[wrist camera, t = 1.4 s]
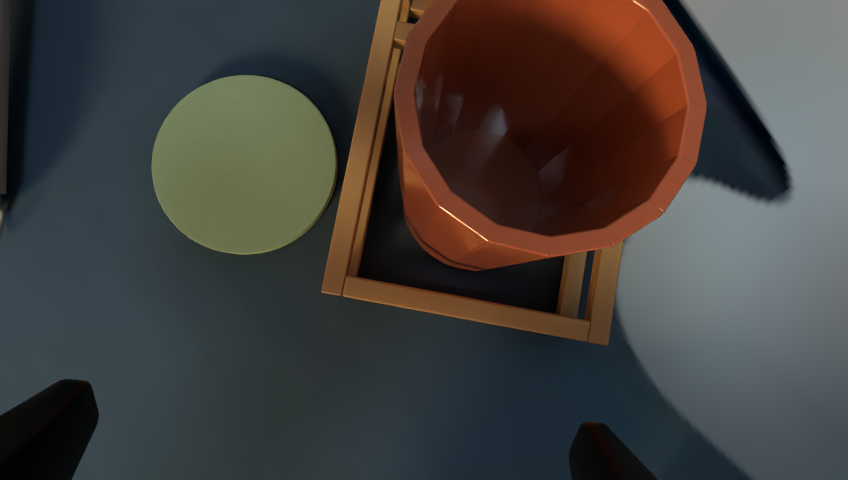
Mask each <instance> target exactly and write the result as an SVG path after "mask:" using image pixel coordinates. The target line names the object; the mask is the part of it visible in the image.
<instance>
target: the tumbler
mask: <svg viewBox="0 0 848 480" xmlns="http://www.w3.org/2000/svg"><path fill="white" fill-rule="evenodd" d="M706 105H707V102H706V98H705V93H704V89H703V84H702V80H701V75H700V71H699V66H698V62H697V57H696V53H695V49H693V45H692V43H691V42H690V40H689V39H688V37H687V36H686V35H685V33H684V32H683V30H682V29H681V27H680V26H679V24H678V23H677V21H676V20H675V18H674V17H673V15H672V14H671V12H670V11H669V10H668V8H667V7H666V5H665V4H664V2H663V1H662V0H433V2H432V3H431V4H430V5H429V7H428V8H427V9H426V11H425V12H424V13H423V15H422V16H421V17H420V19H419V20H418V21H417V23H416V24H415V25H414V27H413V28H412V29H411V30H410V32H409V35H408V36H407V38H406V42H405V46H404V50H403V55H402V59H401V63H400V67H399V71H398V75H397V79H396V83H395V87H394V108H395V122H396V136H397V151H398V165H399V179H400V193H401V199H402V206H403V212H404V218H405V221H406V223H407V225H408V227H409V229H410V231H411V233H412V235H413V237H414V238H415V239H416V241H417V242H418V243H419V245H420V246H421V247H422V248H423V249H424V250H425V251H426V252H428V253H429V254H430V255H431V256H432V257H434V258H436V259H437V260H439V261H440V262H443V263H444V264H447V265H449V266H452V267H456V268H459V269H465V270H472V271H480V270H486V269H492V268H498V267H504V266H510V265H515V264H521V263H526V262H532V261H538V260H543V259H549V258H554V257H560V256H566V255H571V254H577V253H582V252H588V251H593V250H599V249H605V248H610V247H611V246H615V245H616V244H618V243H619V242H621V241H622V240H624V239H626V238H627V237H629V236H630V235H632V234H633V233H635V232H636V231H638V230H640V229H641V228H643V227H644V226H646V225H647V224H649V223H650V222H652V221H653V220H655V219H657V218H658V217H660V216H661V215H662V213H664V212H665V211H666V209H667V208H668V206H669V205H670V203H671V202H672V200H673V199H674V197H675V196H676V194H677V193H678V191H679V190H680V188H681V187H682V185H683V184H684V182H685V181H686V179H687V178H688V176H689V175H690V173H691V172H692V170H693V169H694V167H695V165H696V163H697V159H698V154H699V148H700V143H701V137H702V132H703V126H704V121H705V115H706V109H707V106H706Z"/></svg>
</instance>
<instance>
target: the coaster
mask: <svg viewBox="0 0 848 480" xmlns="http://www.w3.org/2000/svg"><path fill="white" fill-rule="evenodd" d="M337 171H338V159H337V150H336V146H335V141H334V138H333V136H332V133H331V130H330V128H329V126H328V124H327V123H326V121H325V119H324V117H323V116H322V114H321V113H320V111H319V110H318V109H317V107H316V106H315V105H314V104H313V103H312V102H311V101H310V100H309V99H308V98H307V97H306V96H304V95H303V94H302V93H301V92H299V91H298V90H296V89H295V88H293V87H291V86H290V85H287V84H285V83H283V82H281V81H278V80H275V79H272V78H268V77H263V76H257V75H236V76H229V77H224V78H220V79H217V80H214V81H211V82H209V83H207V84H205V85H202V86H200V87H198V88H197V89H195V90H194V91H192V92H191V93H189V94H188V95H187V96H186V97H184V98H183V99H182V100H181V101H180V102H179V103H178V104H177V105H176V106H175V107H174V108H173V109H172V110H171V112H170V113H169V115H168V116H167V118H166V119H165V121H164V122H163V124H162V126H161V128H160V130H159V133H158V135H157V138H156V141H155V145H154V149H153V155H152V178H153V183H154V188H155V191H156V194H157V197H158V200H159V202H160V204H161V206H162V208H163V210H164V212H165V213H166V214H167V216H168V217H169V219H170V220H171V221H172V222H173V224H174V225H175V226H176V227H177V228H178V229H179V230H180V231H182V232H183V233H184V234H185V235H186V236H188V237H189V238H191V239H192V240H194V241H195V242H197V243H199V244H201V245H203V246H206V247H208V248H211V249H214V250H217V251H221V252H226V253H232V254H247V255H249V254H259V253H264V252H269V251H273V250H275V249H278V248H281V247H284V246H285V245H287V244H289V243H291V242H293V241H295V240H296V239H298V238H299V237H301V236H302V235H303V234H305V233H306V232H307V231H308V230H309V229H310V228H311V227H312V226H313V225H314V224H315V223H316V222H317V221H318V219H319V218H320V217H321V215H322V214H323V212H324V211H325V209H326V208H327V206H328V204H329V202H330V199H331V197H332V194H333V191H334V188H335V185H336V179H337Z"/></svg>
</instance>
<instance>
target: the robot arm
mask: <svg viewBox="0 0 848 480" xmlns="http://www.w3.org/2000/svg"><path fill="white" fill-rule="evenodd" d="M98 418H99V412H98V408H97V404H96V401H95V397H94V393H93V390H92V386H91V384H90V383H89V382H88V381H84V380H72V379H64V380H61V381H58V382H56V383H55V384H53V385H51V386H50V387H48V388H46V389H45V390H43V391H41V392H39V393H38V394H36V395H34V396H33V397H31V398H29V399H28V400H26V401H24V402H23V403H21V404H19V405H18V406H16V407H14V408H12V409H11V410H9V411H7V412H6V413H4V414H2V415H1V416H0V480H72V477H73V475H74V473H75V471H76V469H77V467H78V464H79V462H80V460H81V458H82V456H83V454H84V452H85V449H86V447H87V445H88V443H89V441H90V439H91V437H92V434H93V432H94V430H95V428H96V426H97V422H98ZM569 462H570V469H571V476H572V480H658V479H657V478H656V477H655V476H654V475H653V474H652V473H651V472H650V471H649V470H648V469H647V468H646V467H645V466H644V465H643V464H642V463H641V461H640V460H639V459H638V458H637V457H636V456H635V455H634V454H633V453H632V452H631V451H630V450H629V449H628V448H627V447H626V446H625V445H624V443H623V442H622V441H621V440H620V439H619V438H618V437H617V436H616V435H615V434H614V433H613V432H612V431H611V430H610V429H609V428H608V427H607V426H606V425H604V424H602V423H593V422H584V423H582V424H581V426H580V427H579V430H578V432H577V434H576V437H575V439H574V441H573V444H572V446H571V448H570V453H569Z"/></svg>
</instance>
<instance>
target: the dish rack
mask: <svg viewBox="0 0 848 480" xmlns="http://www.w3.org/2000/svg"><path fill="white" fill-rule="evenodd" d="M432 2H433V0H381V2H380V7H379V12H378V17H377V22H376V26H375V31H374V36H373V41H372V46H371V51H370V56H369V60H368V65H367V70H366V75H365V80H364V85H363V90H362V94H361V99H360V104H359V109H358V114H357V119H356V124H355V128H354V133H353V138H352V143H351V148H350V153H349V158H348V162H347V167H346V172H345V177H344V182H343V187H342V192H341V197H340V201H339V206H338V211H337V216H336V221H335V226H334V231H333V235H332V240H331V245H330V250H329V255H328V260H327V265H326V269H325V274H324V279H323V284H322V289H321V292H323V293H327V294H332V295H338V296H342V295H343V296H344V297H348V298H354V299H359V300H365V301H370V302H375V303H381V304H386V305H391V306H397V307H402V308H407V309H413V310H418V311H424V312H429V313H434V314H440V315H445V316H450V317H456V318H461V319H467V320H472V321H477V322H483V323H488V324H493V325H499V326H504V327H509V328H515V329H520V330H526V331H531V332H536V333H542V334H547V335H552V336H558V337H563V338H568V339H574V340H579V341H587V342H590V343H595V344H601V345H608V343H609V336H610V329H611V322H612V316H613V309H614V302H615V295H616V288H617V282H618V275H619V268H620V261H621V255H622V248H623V241H624V240H622V241H621V242H619V243H618V244H616V245H615V246H611V247H610V248H605V249H599V250H595V253H594V260H593V266H592V273H591V279H590V286H589V292H588V299H587V306H586V312H585V319H580V318H577V315H578V308H579V302H580V295H581V289H582V282H583V276H584V269H585V263H586V256H587V252H582V253H577V254H571V255H566V256H565V259H564V265H563V271H562V277H561V284H560V290H559V296H558V303H557V309H556V314H553V313H548V312H543V311H537V310H532V309H527V308H521V307H516V306H511V305H505V304H500V303H495V302H489V301H484V300H479V299H473V298H468V297H463V296H457V295H452V294H447V293H441V292H436V291H431V290H425V289H420V288H415V287H409V286H404V285H399V284H393V283H388V282H382V281H377V280H372V279H366V278H361V277H358V273H359V268H360V263H361V258H362V253H363V248H364V243H365V238H366V233H367V228H368V223H369V218H370V213H371V208H372V203H373V198H374V193H375V188H376V183H377V178H378V173H379V168H380V163H381V158H382V153H383V147H384V142H385V137H386V132H387V127H388V122H389V117H390V112H391V107H392V102H393V97H394V87H395V83H396V79H397V75H398V71H399V67H400V62H401V57H402V52H403V50H404V46H405V42H406V38H407V36H408V35H409V32H410V30H411V29H412V28H413V27H414V25H415V24H412V23H408V22H409V17H411V18H416V19H420V17H421V16H422V15H423V13H424V12H425V11H426V9H427V8H428V7H429V5H430V4H431V3H432Z"/></svg>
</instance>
